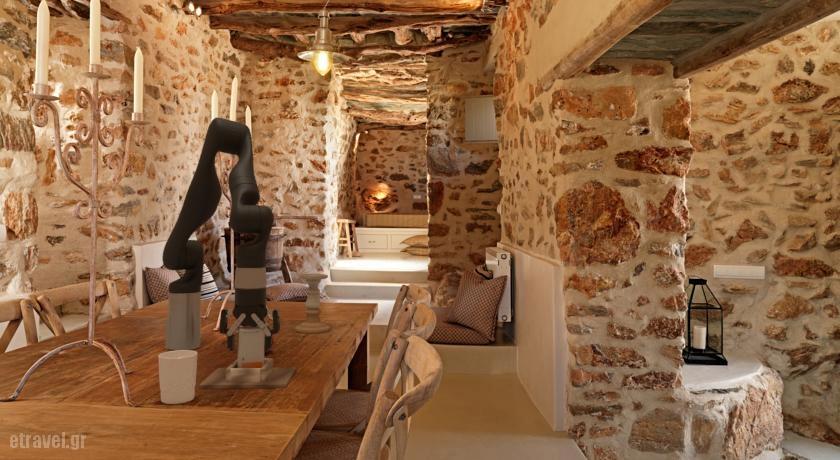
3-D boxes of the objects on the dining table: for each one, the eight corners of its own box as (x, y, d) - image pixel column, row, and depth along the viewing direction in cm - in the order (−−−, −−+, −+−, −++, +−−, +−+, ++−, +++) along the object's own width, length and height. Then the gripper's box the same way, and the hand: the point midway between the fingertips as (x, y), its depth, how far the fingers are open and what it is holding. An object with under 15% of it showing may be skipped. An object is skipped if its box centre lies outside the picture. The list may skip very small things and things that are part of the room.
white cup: (172, 407, 118) (173, 360, 118) (150, 401, 122) (150, 355, 122) (204, 398, 125) (205, 353, 125) (182, 392, 129) (182, 348, 129)
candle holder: (326, 334, 199) (327, 276, 198) (291, 333, 199) (292, 276, 199) (332, 327, 211) (333, 273, 211) (299, 327, 211) (300, 273, 211)
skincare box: (239, 379, 137) (239, 330, 137) (237, 374, 141) (237, 327, 141) (264, 376, 140) (265, 328, 140) (261, 372, 144) (262, 325, 143)
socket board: (198, 388, 132) (198, 372, 132) (218, 370, 148) (218, 356, 148) (285, 387, 133) (285, 371, 133) (295, 370, 149) (295, 355, 149)
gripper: (217, 286, 136) (216, 354, 136) (277, 287, 137) (276, 354, 137) (225, 283, 143) (224, 347, 144) (282, 284, 144) (281, 347, 145)
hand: (249, 350), depth 140 cm, fingers open, 8 cm apart
